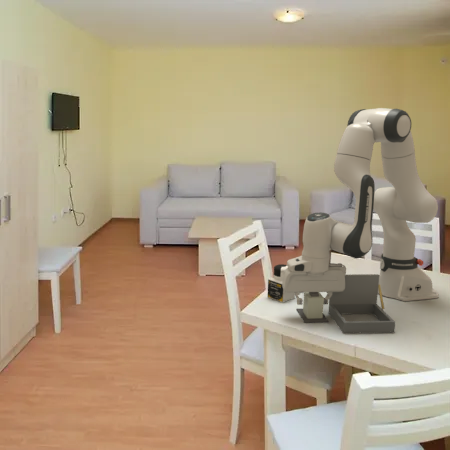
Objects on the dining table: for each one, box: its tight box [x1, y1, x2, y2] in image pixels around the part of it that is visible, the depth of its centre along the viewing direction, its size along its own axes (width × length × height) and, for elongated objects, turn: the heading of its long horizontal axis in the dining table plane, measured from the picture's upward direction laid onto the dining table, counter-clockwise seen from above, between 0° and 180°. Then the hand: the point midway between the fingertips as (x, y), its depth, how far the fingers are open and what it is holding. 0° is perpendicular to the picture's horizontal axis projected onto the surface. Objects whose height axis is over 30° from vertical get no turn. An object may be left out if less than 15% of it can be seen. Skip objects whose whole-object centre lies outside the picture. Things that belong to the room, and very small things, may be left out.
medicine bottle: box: [267, 263, 296, 303], centre depth 184 cm, size 7×7×12 cm
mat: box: [296, 308, 330, 324], centre depth 170 cm, size 8×11×1 cm
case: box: [327, 273, 396, 335], centre depth 164 cm, size 17×16×14 cm
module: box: [302, 292, 325, 319], centre depth 169 cm, size 5×6×8 cm
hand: (312, 304), depth 169 cm, fingers open, 7 cm apart
